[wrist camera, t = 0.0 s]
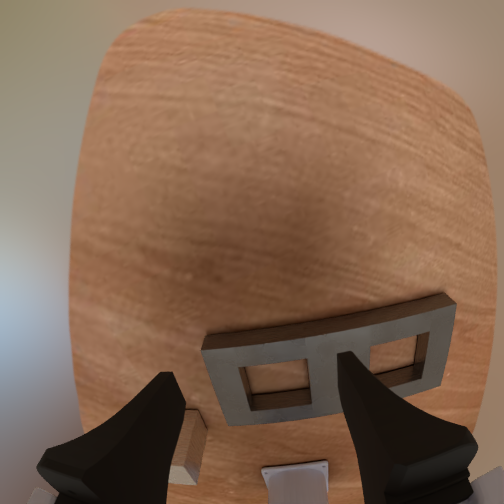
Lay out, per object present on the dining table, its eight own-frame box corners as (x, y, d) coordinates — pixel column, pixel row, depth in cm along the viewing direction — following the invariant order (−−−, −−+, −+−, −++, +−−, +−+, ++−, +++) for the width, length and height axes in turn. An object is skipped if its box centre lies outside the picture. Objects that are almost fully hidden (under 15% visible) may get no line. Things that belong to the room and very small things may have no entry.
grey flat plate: (432, 373, 24) (440, 385, 22) (230, 410, 26) (228, 426, 24) (445, 292, 21) (456, 303, 19) (205, 335, 23) (200, 350, 21)
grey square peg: (207, 431, 27) (196, 485, 20) (176, 431, 27) (160, 481, 21) (197, 409, 26) (183, 466, 19) (164, 409, 26) (145, 462, 20)
